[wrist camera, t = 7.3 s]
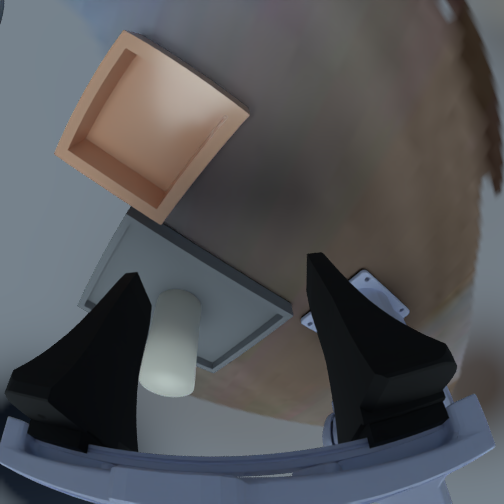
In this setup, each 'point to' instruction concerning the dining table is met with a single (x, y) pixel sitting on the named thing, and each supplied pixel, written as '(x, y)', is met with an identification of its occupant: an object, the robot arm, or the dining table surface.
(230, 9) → the dining table surface
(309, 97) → the dining table surface
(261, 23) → the dining table surface
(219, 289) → the tray
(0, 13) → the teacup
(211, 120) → the shallow square box
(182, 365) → the peg
